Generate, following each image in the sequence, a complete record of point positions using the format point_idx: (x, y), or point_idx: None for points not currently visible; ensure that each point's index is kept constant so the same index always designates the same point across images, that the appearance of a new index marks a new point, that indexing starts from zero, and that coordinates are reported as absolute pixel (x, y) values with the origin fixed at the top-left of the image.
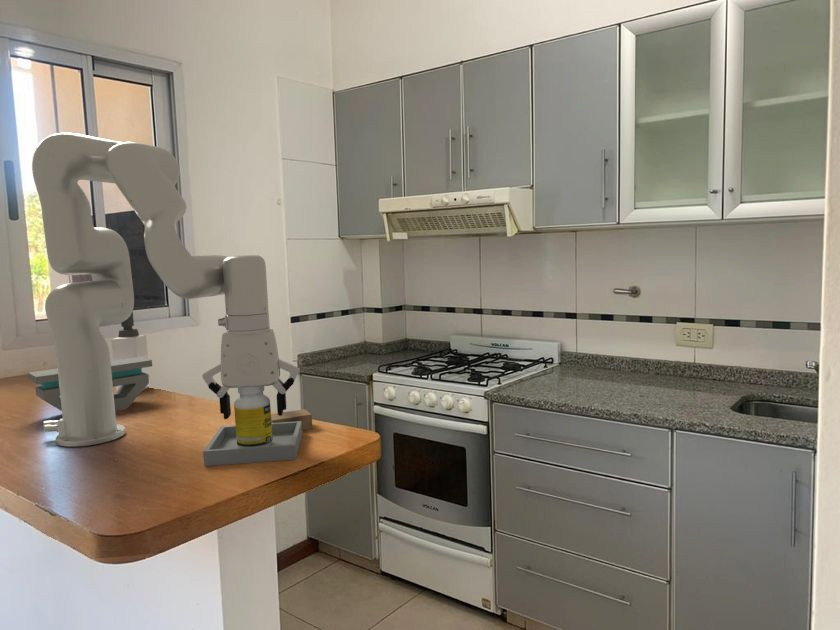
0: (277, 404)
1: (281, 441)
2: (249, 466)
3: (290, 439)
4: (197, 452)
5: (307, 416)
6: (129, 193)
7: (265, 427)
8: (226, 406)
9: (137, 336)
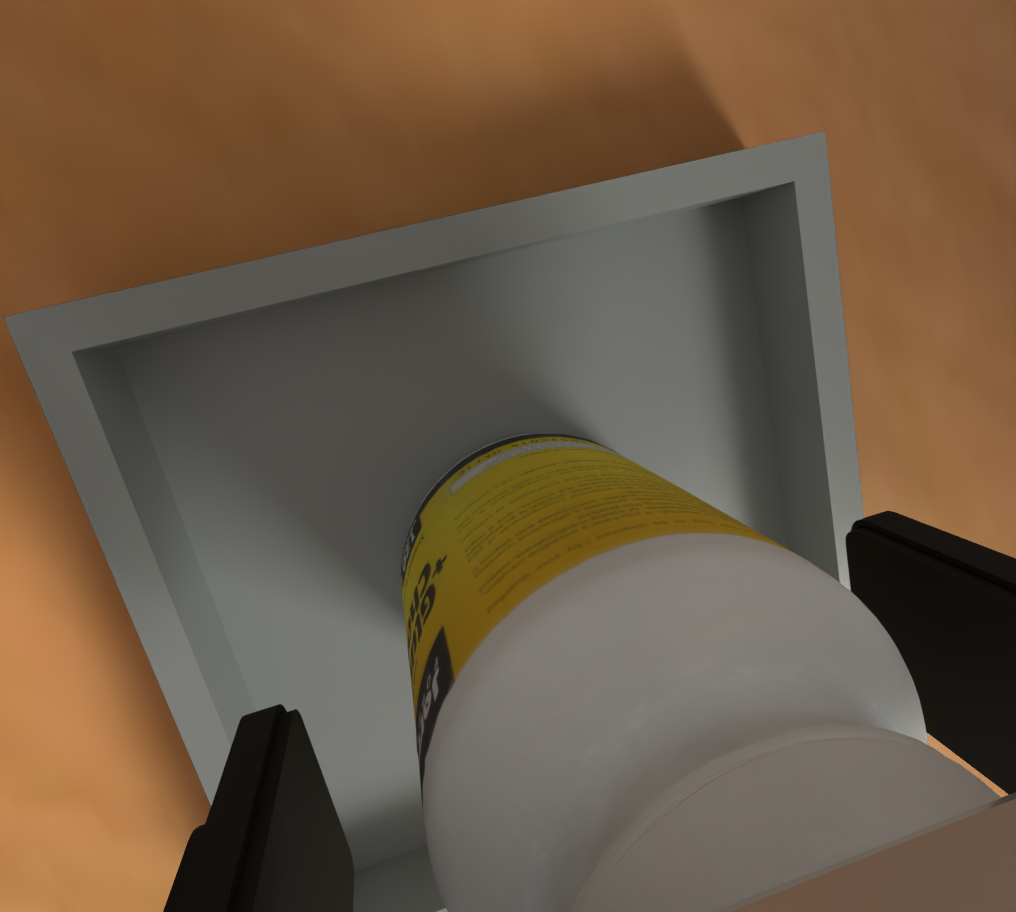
0: (269, 806)
1: (361, 668)
2: (410, 148)
3: (308, 722)
4: (889, 450)
5: None
6: None
7: (424, 564)
8: (970, 577)
9: None
